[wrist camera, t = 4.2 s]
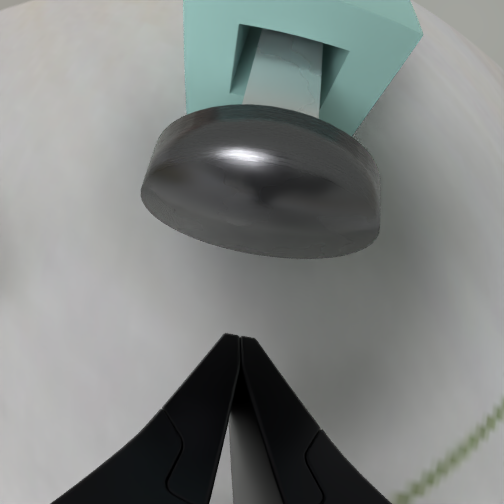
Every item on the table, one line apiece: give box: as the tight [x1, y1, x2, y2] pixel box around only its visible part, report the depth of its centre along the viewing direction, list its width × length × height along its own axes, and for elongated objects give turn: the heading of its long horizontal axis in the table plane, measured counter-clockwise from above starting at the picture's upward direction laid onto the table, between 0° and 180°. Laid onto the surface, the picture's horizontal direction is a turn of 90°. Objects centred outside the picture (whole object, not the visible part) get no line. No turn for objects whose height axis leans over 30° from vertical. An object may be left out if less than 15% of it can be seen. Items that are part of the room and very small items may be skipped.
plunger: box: [141, 28, 380, 259], centre depth 11 cm, size 12×7×7 cm, turn 170°
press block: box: [183, 0, 423, 136], centre depth 14 cm, size 12×8×10 cm, turn 170°
